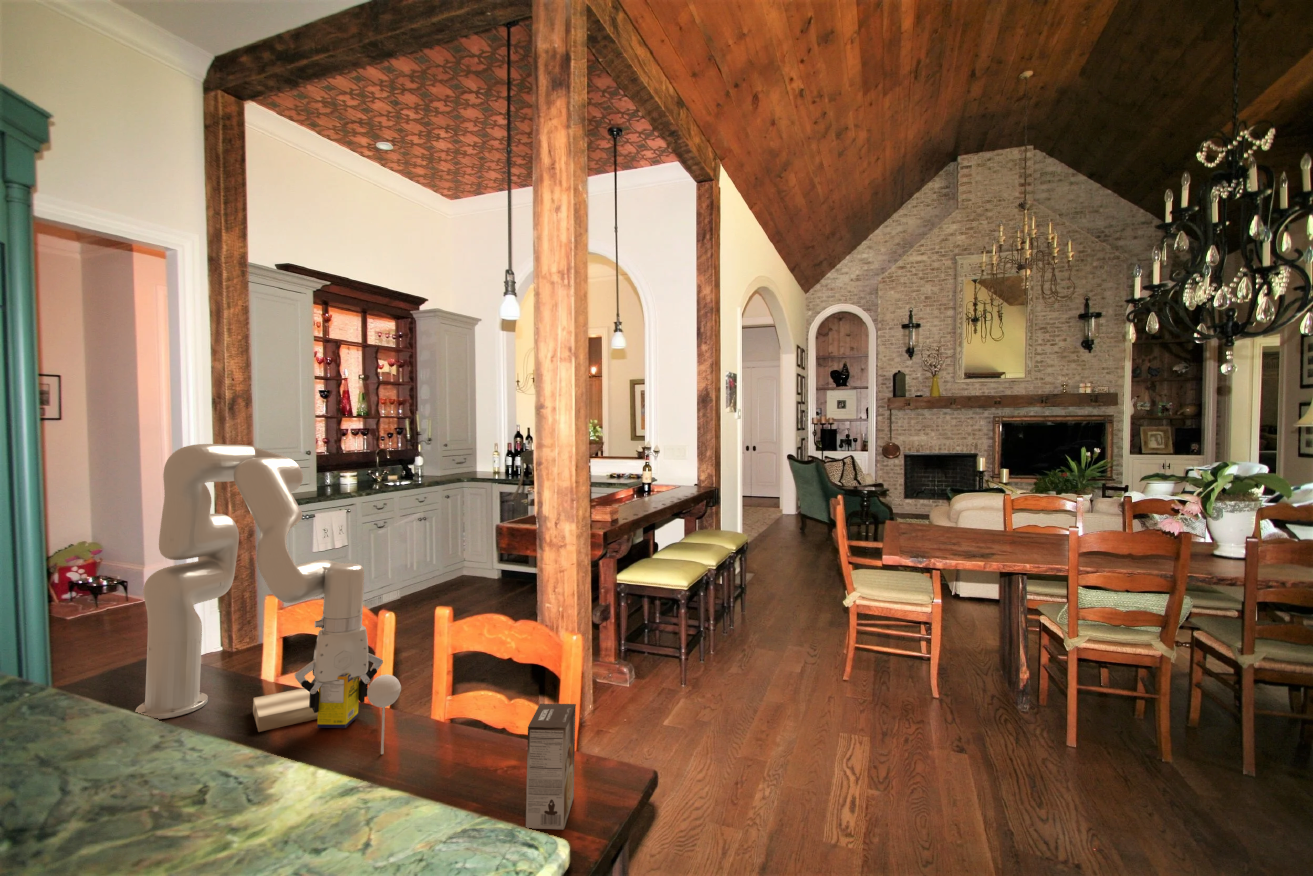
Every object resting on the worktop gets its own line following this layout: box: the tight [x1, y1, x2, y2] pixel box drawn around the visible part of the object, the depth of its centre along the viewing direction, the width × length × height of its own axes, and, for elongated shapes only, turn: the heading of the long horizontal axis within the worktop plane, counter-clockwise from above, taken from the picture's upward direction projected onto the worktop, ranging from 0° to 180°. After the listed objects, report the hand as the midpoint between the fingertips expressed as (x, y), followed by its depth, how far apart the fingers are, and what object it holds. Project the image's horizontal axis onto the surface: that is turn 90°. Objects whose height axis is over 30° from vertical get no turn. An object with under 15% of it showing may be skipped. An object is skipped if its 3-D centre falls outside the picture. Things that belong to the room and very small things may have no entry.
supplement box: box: [316, 674, 361, 729], centre depth 129 cm, size 6×6×11 cm
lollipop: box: [367, 674, 402, 755], centre depth 117 cm, size 6×6×15 cm
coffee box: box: [525, 703, 577, 830], centre depth 100 cm, size 9×6×16 cm
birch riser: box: [252, 687, 318, 733], centre depth 133 cm, size 12×12×3 cm
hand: (338, 705), depth 129 cm, fingers closed on supplement box, 8 cm apart
